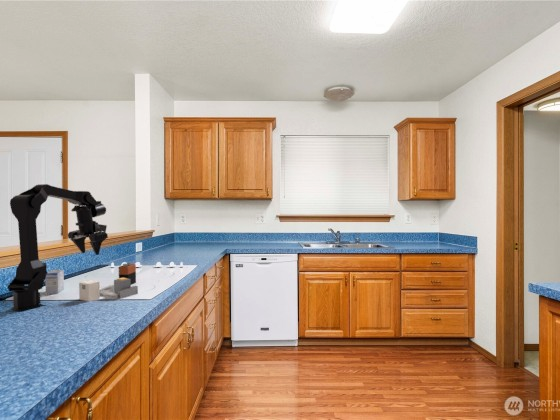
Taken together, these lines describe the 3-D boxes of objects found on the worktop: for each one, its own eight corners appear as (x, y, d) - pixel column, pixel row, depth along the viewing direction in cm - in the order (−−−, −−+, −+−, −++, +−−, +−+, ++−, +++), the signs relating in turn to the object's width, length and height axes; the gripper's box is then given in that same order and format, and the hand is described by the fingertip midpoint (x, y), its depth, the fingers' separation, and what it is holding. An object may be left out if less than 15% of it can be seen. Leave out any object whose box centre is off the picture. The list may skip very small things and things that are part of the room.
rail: (120, 300, 117) (120, 290, 117) (93, 294, 125) (92, 286, 125) (137, 294, 124) (137, 286, 124) (111, 290, 132) (110, 281, 132)
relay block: (121, 296, 120) (121, 280, 119) (114, 295, 122) (113, 279, 122) (130, 294, 123) (130, 277, 123) (123, 292, 125) (123, 276, 125)
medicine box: (51, 290, 134) (51, 270, 133) (64, 289, 135) (63, 269, 135) (45, 295, 126) (44, 273, 126) (58, 293, 128) (57, 272, 128)
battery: (118, 287, 136) (118, 264, 136) (127, 283, 143) (126, 261, 143) (128, 287, 136) (127, 264, 136) (136, 283, 142) (136, 261, 142)
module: (88, 303, 114) (88, 284, 114) (79, 301, 117) (78, 282, 117) (99, 300, 118) (99, 281, 118) (90, 298, 121) (89, 280, 121)
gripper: (116, 217, 140) (120, 250, 143) (88, 215, 148) (93, 246, 151) (92, 222, 130) (98, 258, 133) (64, 220, 138) (70, 254, 141)
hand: (90, 253), depth 140 cm, fingers open, 9 cm apart
